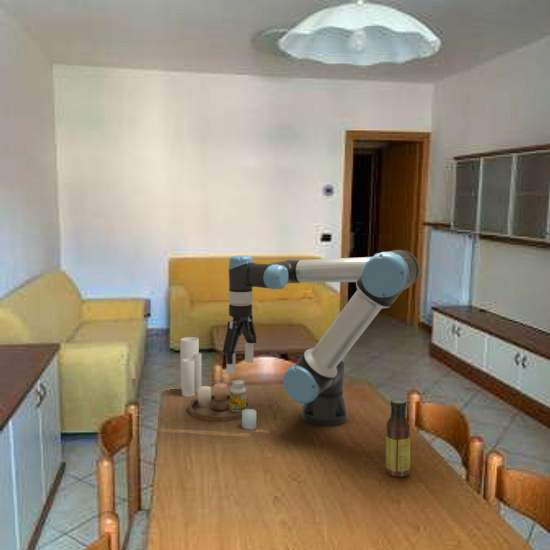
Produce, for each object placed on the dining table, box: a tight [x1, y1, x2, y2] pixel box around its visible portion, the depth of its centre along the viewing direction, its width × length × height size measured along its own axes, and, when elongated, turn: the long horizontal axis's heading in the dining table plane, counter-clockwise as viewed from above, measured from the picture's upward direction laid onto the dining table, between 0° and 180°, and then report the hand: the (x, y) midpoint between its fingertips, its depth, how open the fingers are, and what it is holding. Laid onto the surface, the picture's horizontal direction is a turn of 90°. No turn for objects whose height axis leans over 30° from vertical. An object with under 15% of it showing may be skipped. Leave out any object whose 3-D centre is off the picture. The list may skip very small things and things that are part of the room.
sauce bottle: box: [385, 397, 411, 478], centre depth 146 cm, size 7×6×20 cm
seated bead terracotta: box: [213, 382, 228, 402], centre depth 192 cm, size 4×4×6 cm
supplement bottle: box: [229, 379, 247, 412], centre depth 185 cm, size 5×5×10 cm
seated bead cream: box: [197, 385, 212, 408], centre depth 189 cm, size 4×4×6 cm
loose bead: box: [241, 408, 257, 433], centre depth 172 cm, size 4×4×6 cm
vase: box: [179, 336, 203, 398], centre depth 201 cm, size 11×7×20 cm, turn 16°
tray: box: [186, 393, 253, 422], centre depth 186 cm, size 21×21×3 cm
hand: (240, 367), depth 182 cm, fingers open, 13 cm apart
